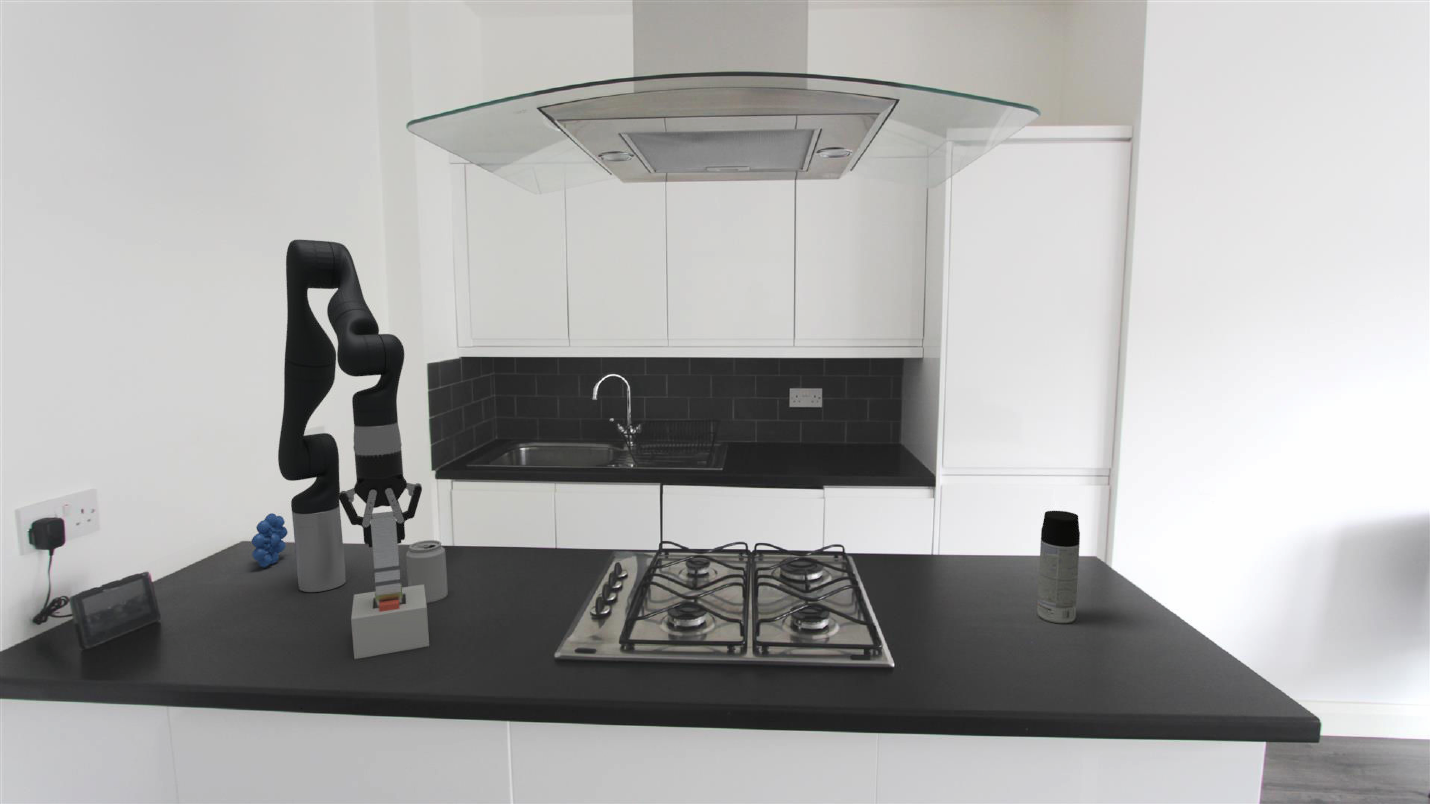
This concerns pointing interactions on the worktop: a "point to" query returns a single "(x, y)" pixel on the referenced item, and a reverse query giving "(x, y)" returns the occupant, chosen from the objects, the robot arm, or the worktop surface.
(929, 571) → the worktop surface
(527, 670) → the worktop surface
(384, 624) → the stand base
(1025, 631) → the worktop surface
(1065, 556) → the spray can
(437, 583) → the can
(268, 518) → the grapes
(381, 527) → the column
